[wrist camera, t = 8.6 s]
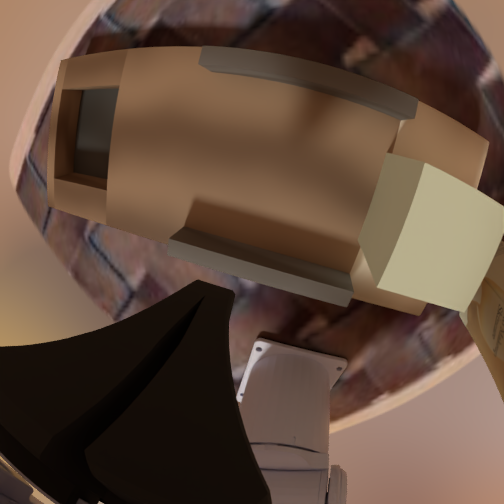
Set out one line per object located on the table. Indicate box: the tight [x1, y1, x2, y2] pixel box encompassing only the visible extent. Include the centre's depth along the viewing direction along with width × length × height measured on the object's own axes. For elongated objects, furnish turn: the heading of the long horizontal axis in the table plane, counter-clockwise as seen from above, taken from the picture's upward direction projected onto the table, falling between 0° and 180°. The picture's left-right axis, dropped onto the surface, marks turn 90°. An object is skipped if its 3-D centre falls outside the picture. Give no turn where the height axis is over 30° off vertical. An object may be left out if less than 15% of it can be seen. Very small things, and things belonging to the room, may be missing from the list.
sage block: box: [358, 153, 504, 312], centre depth 11 cm, size 5×5×5 cm
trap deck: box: [47, 46, 489, 316], centre depth 14 cm, size 12×29×4 cm, turn 78°
